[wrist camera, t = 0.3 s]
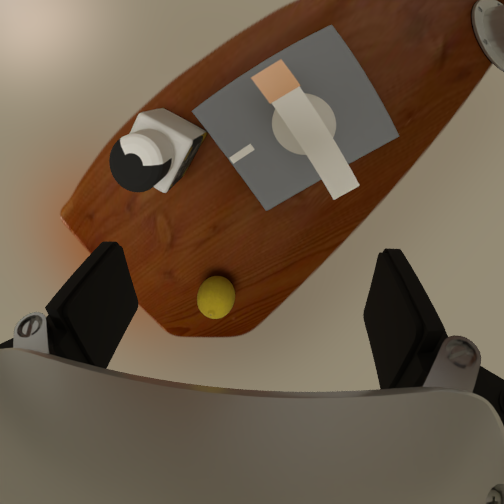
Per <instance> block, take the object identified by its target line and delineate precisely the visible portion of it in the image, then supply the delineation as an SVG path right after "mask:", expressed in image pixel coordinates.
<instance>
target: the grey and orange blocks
mask: <svg viewBox="0 0 504 504" xmlns="http://www.w3.org/2000/svg"><path fill="white" fill-rule="evenodd" d="M251 79H252V80H253V81H254V83H255V84H256V85H257V87H258V88H259V89H260V91H261V92H262V93H263V95H264V96H265V98H266V99H267V100H268V102H269V103H270V104H271V103H272V105H273V106H274V108H275V111H274V114H273V117H272V129H273V133H274V135H275V137H276V139H277V141H278V142H279V143H280V144H281V145H282V146H283V147H284V148H285V149H287V150H288V151H290V152H293V153H296V154H300V155H307V157H308V158H309V160H310V161H311V163H312V165H313V166H314V168H315V169H316V171H317V173H318V174H319V176H320V178H321V179H322V181H323V182H324V184H325V186H326V187H327V189H328V191H329V193H330V194H331V196H332V198H333V199H334V200H335V199H337V198H338V197H340V196H342V195H344V194H346V193H347V192H349V191H351V190H353V189H355V188H356V187H358V186H360V185H359V183H358V181H357V180H356V178H355V176H354V174H353V172H352V170H351V169H350V167H349V165H348V163H347V161H346V160H345V158H344V156H343V154H342V153H341V151H340V149H339V147H338V146H337V144H336V142H335V141H334V139H333V137H334V135H335V131H336V119H335V115H334V113H333V111H332V109H331V107H330V106H329V105H328V104H327V103H326V102H325V101H324V100H323V99H321V98H319V97H317V96H315V95H312V94H307V93H304V92H303V91H302V89H301V88H300V86H301V85H300V84H299V83H298V81H297V80H296V78H295V77H294V75H293V74H292V73H291V71H290V70H289V69H288V67H287V66H286V65H285V63H284V62H283V61H282V59H280V60H279V61H277V62H275V63H274V64H272V65H270V66H269V67H267V68H265V69H264V70H262V71H261V72H259V73H257V74H256V75H254V76H253V77H251Z"/></svg>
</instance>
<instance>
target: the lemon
mask: <svg viewBox="0 0 504 504" xmlns="http://www.w3.org/2000/svg"><path fill="white" fill-rule="evenodd" d="M234 300H235V290H234V287H233V285H232V283H231V282H230V281H229V280H228V279H226V278H224V277H222V276H212V277H210V278H208V279H206V280H205V281H204V282H203V283H202V285H201V286H200V288H199V291H198V295H197V304H198V307H199V309H200V311H201V312H202V313H203V314H204V315H205V316H207V317H209V318H212V319H218V318H222V317H224V316H225V315H226V314H228V313H229V311H230V310H231V308H232V306H233V304H234Z"/></svg>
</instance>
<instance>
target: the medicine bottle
mask: <svg viewBox="0 0 504 504" xmlns="http://www.w3.org/2000/svg"><path fill="white" fill-rule="evenodd" d="M206 135H207V132H206V131H205V130H203V129H201V128H200V127H198V126H196V125H194V124H192V123H191V122H189V121H187V120H185V119H183V118H181V117H179V116H178V115H176V114H174V113H172V112H170V111H168V110H166V109H164V108H160V109H156V110H151V111H146V112H142V113H139V115H138V116H137V119H136V121H135V123H134V125H133V127H132V130H131V132H130V134H128V135H126V136H123V137H122V138H120V139H119V140H118V141H117V142H116V143H115V145H114V146H113V148H112V150H111V153H110V169H111V172H112V175H113V177H114V178H115V180H116V181H117V182H118V184H120V185H121V186H122V187H123V188H125V189H127V190H129V191H132V192H144V191H147V190H149V189H151V188H152V187H154V188H156V189H158V190H159V191H161V192H163V193H167V192H168V191H169V190H170V189H171V188H172V187H173V186H174V185H175V184H176V183H177V182H178V181H179V180H180V179H181V178H182V177H183V176H184V174H185V172H186V171H187V169H188V167H189V165H190V163H191V161H192V160H193V158H194V156H195V154H196V152H197V151H198V149H199V147H200V145H201V143H202V142H203V140H204V138H205V137H206Z"/></svg>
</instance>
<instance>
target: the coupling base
mask: <svg viewBox="0 0 504 504" xmlns="http://www.w3.org/2000/svg"><path fill="white" fill-rule="evenodd" d="M280 59H282V61H283V62H284V63H285V65H286V66H287V67H288V69H289V70H290V71H291V73H292V74H293V75H294V77H295V78H296V80H297V81H298V83H299V84H300V85H301V86H300V88H301V89H302V91H303V92H304V93H307V94H312V95H315V96H317V97H319V98H321V99H323V100H324V101H325V102H326V103H327V104H328V105H329V106H330V107H331V109H332V111H333V113H334V115H335V119H336V131H335V135H334V137H333V139H334V141H335V142H336V144H337V146H338V147H339V149H340V151H341V153H342V154H343V156H344V158H345V160H346V161H347V163H348V164H350V163H351V162H353V161H355V160H357V159H359V158H360V157H362V156H364V155H366V154H368V153H369V152H371V151H373V150H375V149H377V148H379V147H380V146H382V145H384V144H386V143H388V142H390V141H391V140H393V139H395V138H397V137H399V135H398V132H397V130H396V128H395V126H394V124H393V122H392V120H391V118H390V116H389V115H388V113H387V111H386V109H385V107H384V105H383V103H382V101H381V100H380V98H379V96H378V94H377V93H376V91H375V89H374V87H373V86H372V84H371V82H370V81H369V79H368V77H367V76H366V74H365V72H364V71H363V69H362V68H361V66H360V64H359V63H358V61H357V60H356V58H355V57H354V55H353V54H352V52H351V51H350V49H349V48H348V46H347V45H346V44H345V42H344V41H343V39H342V38H341V36H340V35H339V34H338V32H337V31H336V30H335V28H334V27H333V26H332V25H330V26H328V27H326V28H324V29H322V30H320V31H317V32H315V33H313V34H312V35H310V36H308V37H306V38H304V39H302V40H300V41H298V42H296V43H294V44H293V45H291V46H289V47H287V48H285V49H284V50H282V51H280V52H278V53H277V54H275V55H273V56H272V57H270V58H268V59H267V60H265V61H263V62H262V63H260V64H258V65H257V66H255V67H254V68H252V69H251V70H249V71H247V72H246V73H244V74H243V75H241V76H240V77H238V78H237V79H235V80H234V81H232V82H231V83H229V84H228V85H227V86H225V87H224V88H222V89H221V90H219V91H218V92H217V93H215V94H214V95H212V96H211V97H210V98H208V99H207V100H206V101H204V102H203V103H202V104H200V105H199V106H198V107H196V108H195V109H194V110H192V112H193V113H194V115H195V116H196V117H197V119H198V120H199V121H200V123H201V124H202V125H203V126H204V128H205V129H206V130H207V132H208V133H209V134H210V136H211V137H212V138H213V139H214V141H215V142H216V143H217V145H218V146H219V147H220V149H221V150H222V151H223V153H224V154H225V155H226V157H227V158H228V159H229V161H230V162H231V163H232V165H233V166H234V167H235V169H236V170H237V171H238V173H239V174H240V176H241V177H242V178H243V180H244V181H245V182H246V184H247V185H248V186H249V188H250V189H251V191H252V192H253V193H254V195H255V196H256V197H257V199H258V200H259V202H260V203H261V204H262V206H263V207H264V209H265V210H266V211H268V210H269V209H271V208H273V207H274V206H276V205H278V204H279V203H281V202H283V201H285V200H286V199H288V198H290V197H291V196H293V195H295V194H297V193H298V192H300V191H302V190H304V189H305V188H307V187H309V186H311V185H312V184H314V183H316V182H318V181H319V180H321V178H320V176H319V174H318V173H317V171H316V169H315V168H314V166H313V165H312V163H311V161H310V160H309V158H308V157H307V155H300V154H296V153H293V152H290V151H288V150H287V149H285V148H284V147H283V146H282V145H281V144H280V143H279V142H278V141H277V139H276V137H275V135H274V133H273V129H272V117H273V114H274V111H275V108H274V106H273V105H272V103H271V104H270V103H269V102H268V100H267V99H266V98H265V96H264V95H263V93H262V92H261V91H260V89H259V88H258V87H257V85H256V84H255V83H254V81H253V80H252V79H251V77H253V76H254V75H256V74H257V73H259V72H261V71H262V70H264V69H265V68H267V67H269V66H270V65H272V64H274V63H275V62H277V61H279V60H280Z"/></svg>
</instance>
